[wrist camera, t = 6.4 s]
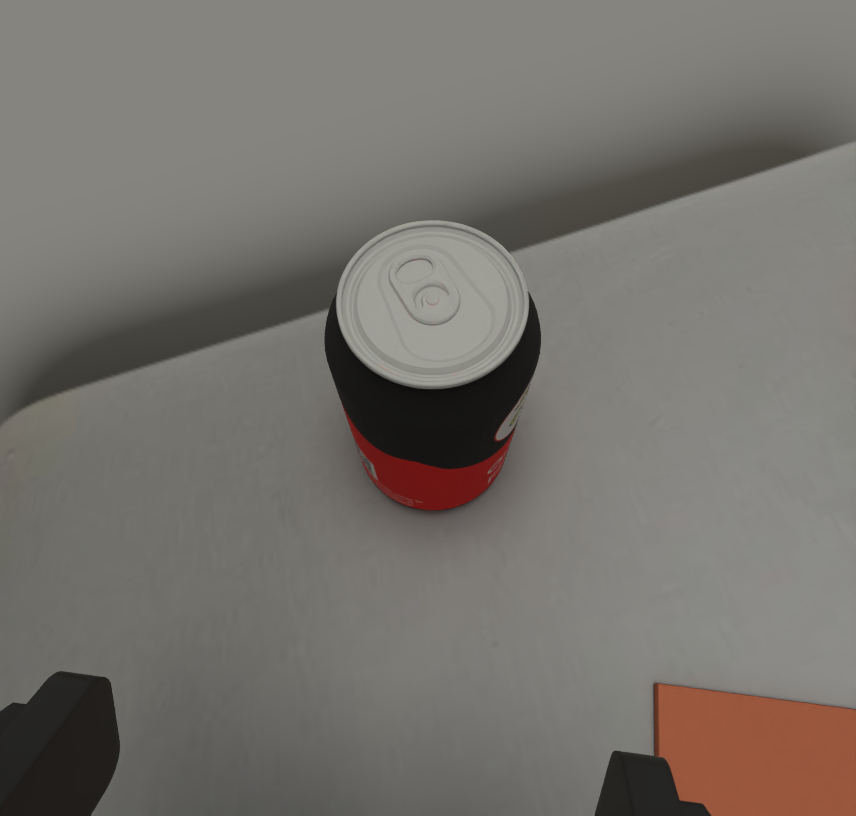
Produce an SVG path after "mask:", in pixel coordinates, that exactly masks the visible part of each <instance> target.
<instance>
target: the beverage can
mask: <svg viewBox="0 0 856 816" xmlns="http://www.w3.org/2000/svg"><path fill="white" fill-rule="evenodd" d="M540 346H541V331H540V324H539V319H538V315H537V310H536V308H535V305H534V302H533V300H532V298H531V295H530V293H529V292H528V289H527V285H526V281H525V278H524V276H523V273H522V271H521V269H520V267H519V266H518V264H517V262H516V261H515V260H514V258H513V257H512V256H511V254H510V253H509V252H508V251H507V250H506V249H505V248H504V247H503V246H502V245H501V244H499V243H498V242H497V241H495V240H494V239H493V238H491V237H490V236H488V235H486V234H485V233H483V232H481V231H479V230H477V229H474V228H471V227H469V226H466V225H462V224H459V223H454V222H448V221H436V220H432V221H418V222H412V223H407V224H403V225H400V226H397V227H394V228H391V229H389V230H387V231H385V232H383V233H381V234H379V235H378V236H376V237H374V238H373V239H371V240H370V241H369V242H367V243H366V244H365V245H364V246H363V247H362V248H361V249H360V250H359V251H358V252H357V253H356V254H355V255H354V256H353V258H352V259H351V260H350V262H349V263H348V265H347V266H346V268H345V270H344V272H343V274H342V277H341V279H340V282H339V286H338V290H337V293H336V295H335V297H334V299H333V301H332V304H331V306H330V309H329V313H328V317H327V321H326V327H325V352H326V357H327V361H328V364H329V368H330V371H331V374H332V376H333V379H334V382H335V385H336V388H337V391H338V394H339V397H340V400H341V402H342V405H343V408H344V411H345V414H346V417H347V420H348V423H349V425H350V428H351V431H352V434H353V437H354V440H355V443H356V446H357V449H358V451H359V454H360V457H361V460H362V463H363V465H364V468H365V470H366V472H367V473H368V475H369V477H370V478H371V479H372V481H373V482H374V483H375V484H376V486H377V487H378V488H379V489H380V490H381V491H382V492H384V493H385V494H386V495H388V496H389V497H390V498H392V499H394V500H395V501H397V502H399V503H401V504H404V505H407V506H409V507H413V508H417V509H423V510H442V509H449V508H453V507H456V506H459V505H462V504H464V503H467V502H469V501H471V500H472V499H474V498H476V497H477V496H478V495H480V494H481V493H482V492H483V491H485V490H486V489H487V488H488V487H489V486H490V485H491V483H492V482H493V481H494V479H495V478H496V477H497V475H498V473H499V472H500V470H501V468H502V465H503V463H504V460H505V457H506V454H507V451H508V448H509V445H510V442H511V439H512V436H513V433H514V430H515V427H516V425H517V422H518V419H519V416H520V413H521V410H522V407H523V404H524V401H525V398H526V395H527V392H528V389H529V386H530V383H531V380H532V377H533V375H534V372H535V369H536V366H537V363H538V359H539V354H540Z"/></svg>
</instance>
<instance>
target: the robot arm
mask: <svg viewBox="0 0 856 816" xmlns="http://www.w3.org/2000/svg"><path fill="white" fill-rule="evenodd" d="M119 751H120V740H119V734H118V727H117V721H116V714H115V707H114V701H113V694H112V688H111V683H110V681H109V680H108V679H107V678H105V677H99V676H92V675H85V674H78V673H71V672H63V671H59V672H56V673H55V674H53V675H52V676H50V677H49V678H48V679H47V680H46V681H45V683H44V684H43V685H42V686H41V687H40V689H39V690H38V691H37V692H36V693H35V695H34V696H33V697H32V698H31V699H30V701H29V702H28V703H27V704H19V703H12V704H10V705H9V706H7V707H6V708H4V709H3V710H2V711H0V816H91V814H92V812H93V811H94V809H95V807H96V806H97V804H98V802H99V801H100V799H101V797H102V796H103V794H104V792H105V791H106V789H107V787H108V785H109V783H110V781H111V779H112V777H113V774H114V772H115V769H116V765H117V762H118V757H119ZM595 816H711V814H710V813H709V811H708V810H707V809H706V807H705V806H704V804H702V803H695V802H688V801H681V800H679V796H678V793H677V789H676V785H675V782H674V778H673V775H672V772H671V769H670V766H669V764H668V762H667V760H666V759H665V758H663V757H657V756H650V755H643V754H636V753H629V752H622V751H614V752H613V753H612V755H611V758H610V761H609V765H608V768H607V772H606V776H605V779H604V783H603V786H602V790H601V794H600V797H599V801H598V805H597V808H596V812H595Z"/></svg>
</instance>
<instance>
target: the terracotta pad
mask: <svg viewBox="0 0 856 816" xmlns="http://www.w3.org/2000/svg"><path fill="white" fill-rule="evenodd" d="M654 704H655V756H657V757H663V758H665V759H666V760H667V762H668V764H669V766H670V769H671V772H672V775H673V778H674V782H675V785H676V789H677V793H678V796H679V800H681V801H688V802H695V803H702V804H704V806H705V807H706V809H707V810H708V811H709V813H710V814H711V816H856V709H849V708H841V707H834V706H826V705H818V704H811V703H803V702H795V701H788V700H780V699H773V698H765V697H757V696H750V695H742V694H734V693H727V692H719V691H712V690H704V689H696V688H689V687H681V686H673V685H666V684H657V683H655V684H654Z"/></svg>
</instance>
